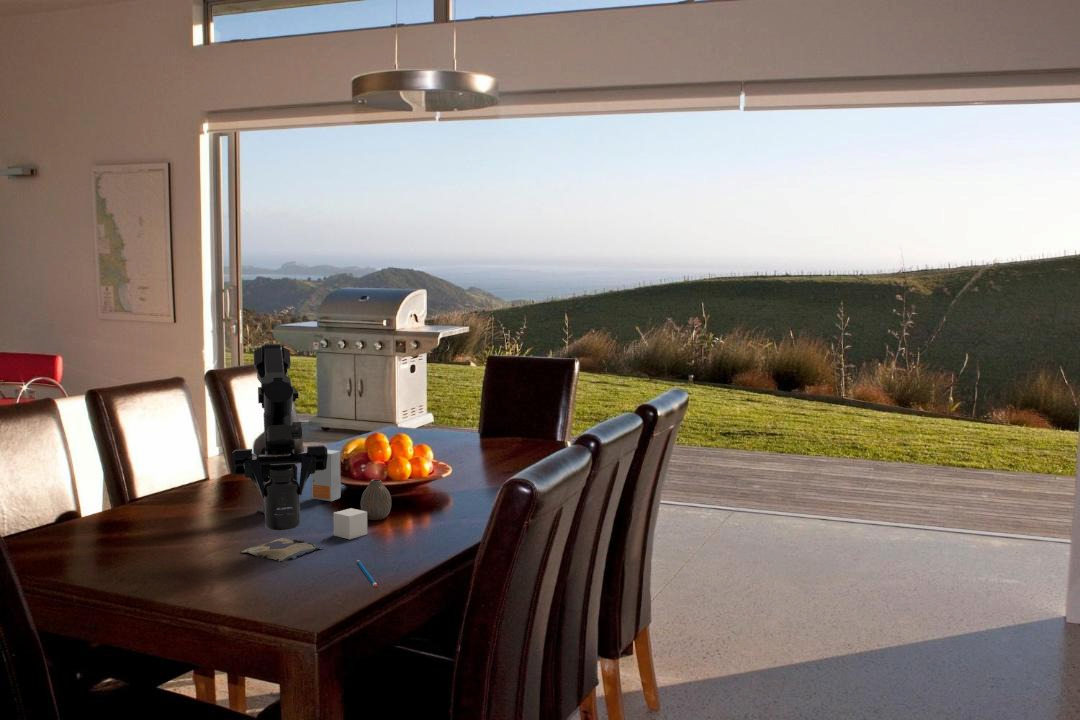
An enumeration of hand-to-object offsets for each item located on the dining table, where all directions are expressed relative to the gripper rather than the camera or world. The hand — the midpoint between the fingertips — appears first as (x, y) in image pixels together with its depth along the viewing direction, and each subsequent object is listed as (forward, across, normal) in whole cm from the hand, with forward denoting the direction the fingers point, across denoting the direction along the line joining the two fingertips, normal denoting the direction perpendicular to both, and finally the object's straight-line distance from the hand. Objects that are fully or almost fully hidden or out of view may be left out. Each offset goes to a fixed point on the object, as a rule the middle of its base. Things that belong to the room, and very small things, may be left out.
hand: (282, 495), depth 187 cm
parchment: (+8, 0, +9) cm, 12 cm away
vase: (-6, +22, +23) cm, 32 cm away
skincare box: (-22, +12, +39) cm, 46 cm away
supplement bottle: (+4, 0, +6) cm, 7 cm away
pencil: (+22, +14, -5) cm, 26 cm away
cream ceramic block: (+2, +14, +14) cm, 20 cm away
